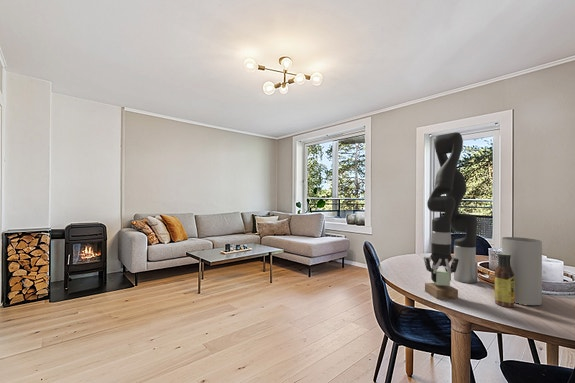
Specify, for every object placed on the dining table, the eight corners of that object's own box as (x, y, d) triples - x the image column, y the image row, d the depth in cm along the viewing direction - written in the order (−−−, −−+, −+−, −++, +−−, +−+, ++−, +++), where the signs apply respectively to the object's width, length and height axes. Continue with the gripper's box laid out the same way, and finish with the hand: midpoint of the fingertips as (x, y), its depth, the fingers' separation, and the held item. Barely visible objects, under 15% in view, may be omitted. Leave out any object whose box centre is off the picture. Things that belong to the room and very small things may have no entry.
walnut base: (444, 291, 125) (444, 282, 125) (457, 299, 116) (457, 289, 116) (424, 292, 124) (424, 283, 124) (436, 299, 115) (436, 290, 115)
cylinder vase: (501, 293, 123) (501, 236, 123) (539, 299, 116) (539, 239, 116) (502, 301, 113) (502, 239, 113) (544, 309, 106) (544, 243, 106)
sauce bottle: (515, 309, 105) (516, 256, 106) (495, 305, 109) (495, 254, 109) (513, 303, 111) (513, 253, 111) (493, 300, 114) (493, 251, 114)
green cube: (444, 281, 122) (444, 270, 123) (449, 285, 117) (450, 273, 118) (432, 281, 123) (432, 269, 123) (437, 285, 118) (437, 273, 118)
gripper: (453, 240, 124) (453, 279, 123) (420, 240, 124) (420, 278, 124) (463, 244, 116) (463, 285, 116) (427, 243, 117) (427, 284, 117)
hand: (440, 281), depth 120 cm, fingers closed on green cube, 4 cm apart
